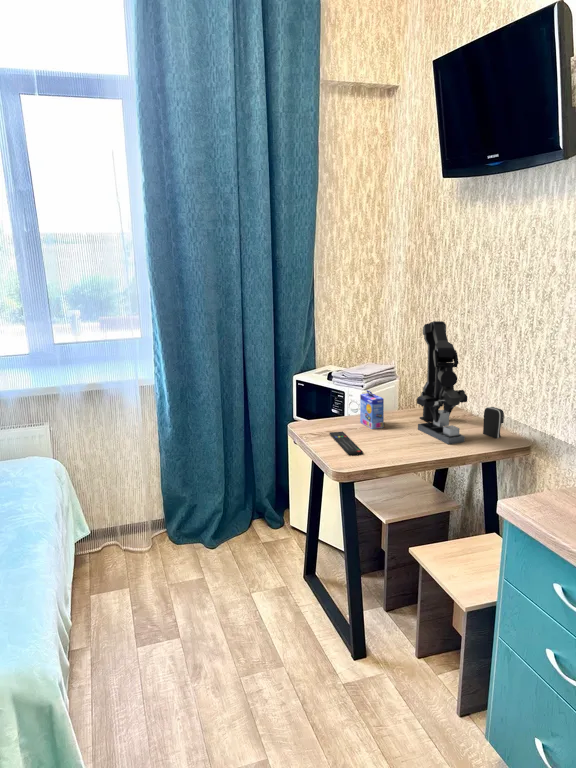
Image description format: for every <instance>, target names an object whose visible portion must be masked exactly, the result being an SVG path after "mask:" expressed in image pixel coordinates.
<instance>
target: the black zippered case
mask: <svg viewBox="0 0 576 768" xmlns="http://www.w3.org/2000/svg"><path fill="white" fill-rule="evenodd" d="M504 419H505V412H504V410H503V409H502V408H498V407H494V406H488V407H486V408H484V412H483V428H482V434H483V435H485V436H487V437H491V438H493V439H500V438H501V437H502V436H501V426H502V424H504V421H505V420H504Z"/></svg>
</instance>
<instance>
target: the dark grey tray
mask: <svg viewBox="0 0 576 768" xmlns="http://www.w3.org/2000/svg"><path fill="white" fill-rule="evenodd" d="M443 427H444V426H442V427H439V426H437V425H435V424H433V422H424V423H418V424H417V430H418V431H420V432H421V433H424V434H426V435H428V436H430V437H432V438H434V439H436V440H438V441H441V442H442V443H444V444H446V445H448V446H449V445H455V444H456V445H457V444H461V443H465V437H466V436H465V435H463V434H461V433H459V437H453V438H448V437H446V436H444V435H443Z"/></svg>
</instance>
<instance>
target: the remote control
mask: <svg viewBox="0 0 576 768" xmlns="http://www.w3.org/2000/svg"><path fill="white" fill-rule="evenodd" d="M329 435H330V437H331V438H332V439H333V440H334V441H335V442H336V443H337V444H338V445H339V447H341V449H342V450H343V451H344V452H345V453H346V454H347V455H348V456H349V457H350V456H353V457H355V456H356V457H357V456H361V455H362V456H363V455H364V451H363V450H362V449H361V448H360V447H359V446H358V445H357V444H356V443H355V442H354V441H353V440H352V439H351V438H350V437H349V436H348V435H347V434H346V433H345V432H344V431H333V432H331V431H330V432H329Z"/></svg>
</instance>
